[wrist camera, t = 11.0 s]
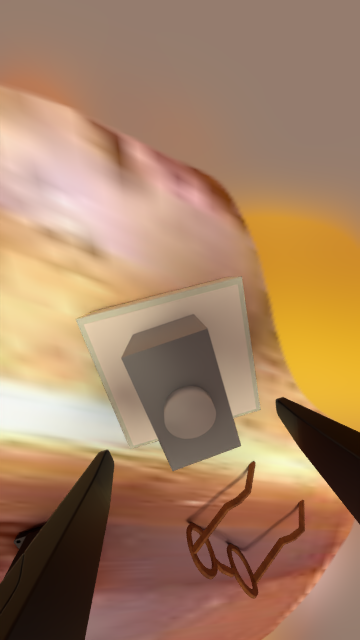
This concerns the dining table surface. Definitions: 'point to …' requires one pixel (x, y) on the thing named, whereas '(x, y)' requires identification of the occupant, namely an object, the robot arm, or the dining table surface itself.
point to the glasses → (223, 568)
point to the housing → (182, 390)
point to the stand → (133, 317)
